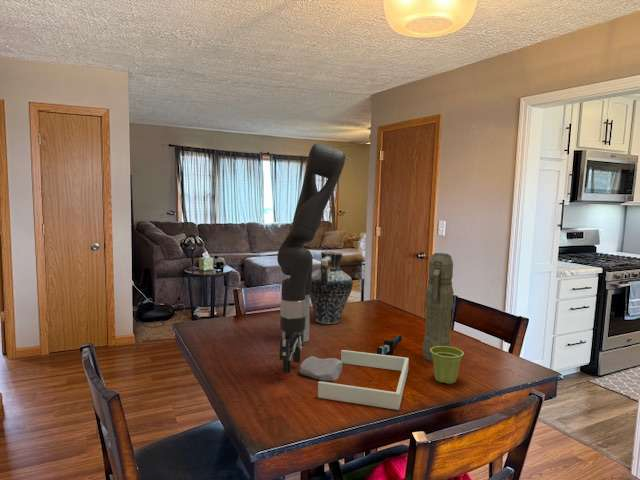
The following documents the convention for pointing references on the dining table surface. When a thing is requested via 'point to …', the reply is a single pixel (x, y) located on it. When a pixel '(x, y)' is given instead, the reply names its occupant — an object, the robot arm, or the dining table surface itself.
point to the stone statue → (438, 303)
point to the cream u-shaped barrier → (367, 394)
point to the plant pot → (446, 363)
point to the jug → (329, 289)
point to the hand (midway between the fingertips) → (291, 367)
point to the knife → (389, 346)
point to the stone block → (321, 368)
